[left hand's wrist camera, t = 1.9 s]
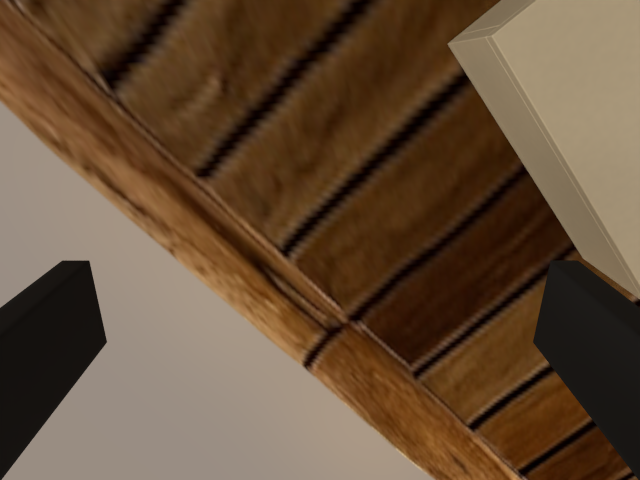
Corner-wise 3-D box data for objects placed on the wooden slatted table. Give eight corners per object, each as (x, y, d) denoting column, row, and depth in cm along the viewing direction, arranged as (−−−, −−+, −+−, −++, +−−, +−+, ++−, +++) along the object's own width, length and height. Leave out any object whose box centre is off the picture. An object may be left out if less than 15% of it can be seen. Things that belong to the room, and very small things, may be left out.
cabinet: (699, 185, 34) (811, 220, 26) (582, 258, 36) (654, 310, 28) (577, -62, 28) (677, -112, 20) (446, 43, 30) (491, 35, 22)
